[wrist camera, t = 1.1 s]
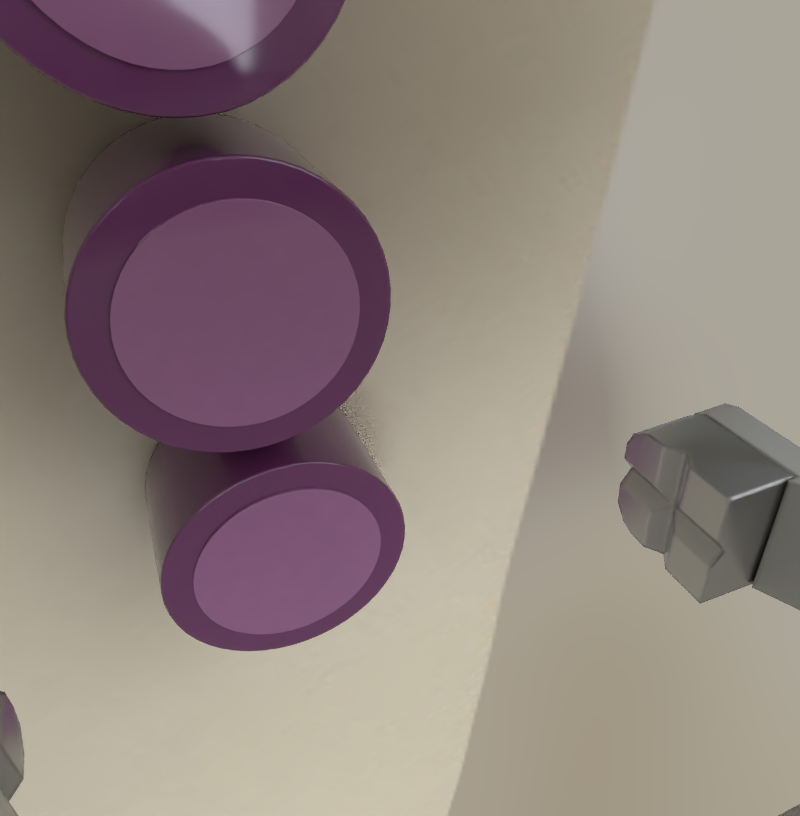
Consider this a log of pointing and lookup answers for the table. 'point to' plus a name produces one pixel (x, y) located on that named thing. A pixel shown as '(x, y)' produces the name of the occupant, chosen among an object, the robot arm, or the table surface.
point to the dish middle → (219, 285)
